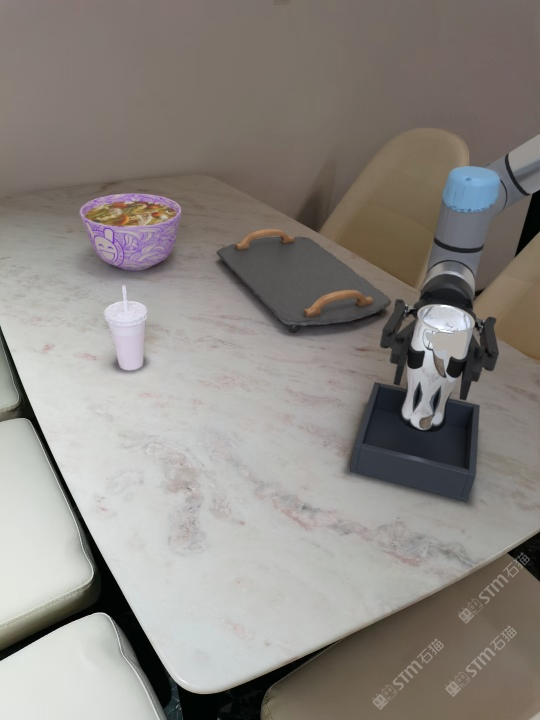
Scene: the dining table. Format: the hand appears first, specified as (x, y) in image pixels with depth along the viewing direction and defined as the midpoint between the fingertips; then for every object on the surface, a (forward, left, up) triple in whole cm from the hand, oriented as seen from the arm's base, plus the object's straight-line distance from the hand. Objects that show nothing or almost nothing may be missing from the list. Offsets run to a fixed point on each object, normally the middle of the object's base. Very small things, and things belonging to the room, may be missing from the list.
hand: (431, 382), depth 68 cm
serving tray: (+28, -46, -15) cm, 56 cm away
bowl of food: (+63, -43, -15) cm, 78 cm away
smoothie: (+45, -9, -15) cm, 48 cm away
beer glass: (0, -5, -9) cm, 10 cm away
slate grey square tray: (0, -5, -15) cm, 15 cm away
